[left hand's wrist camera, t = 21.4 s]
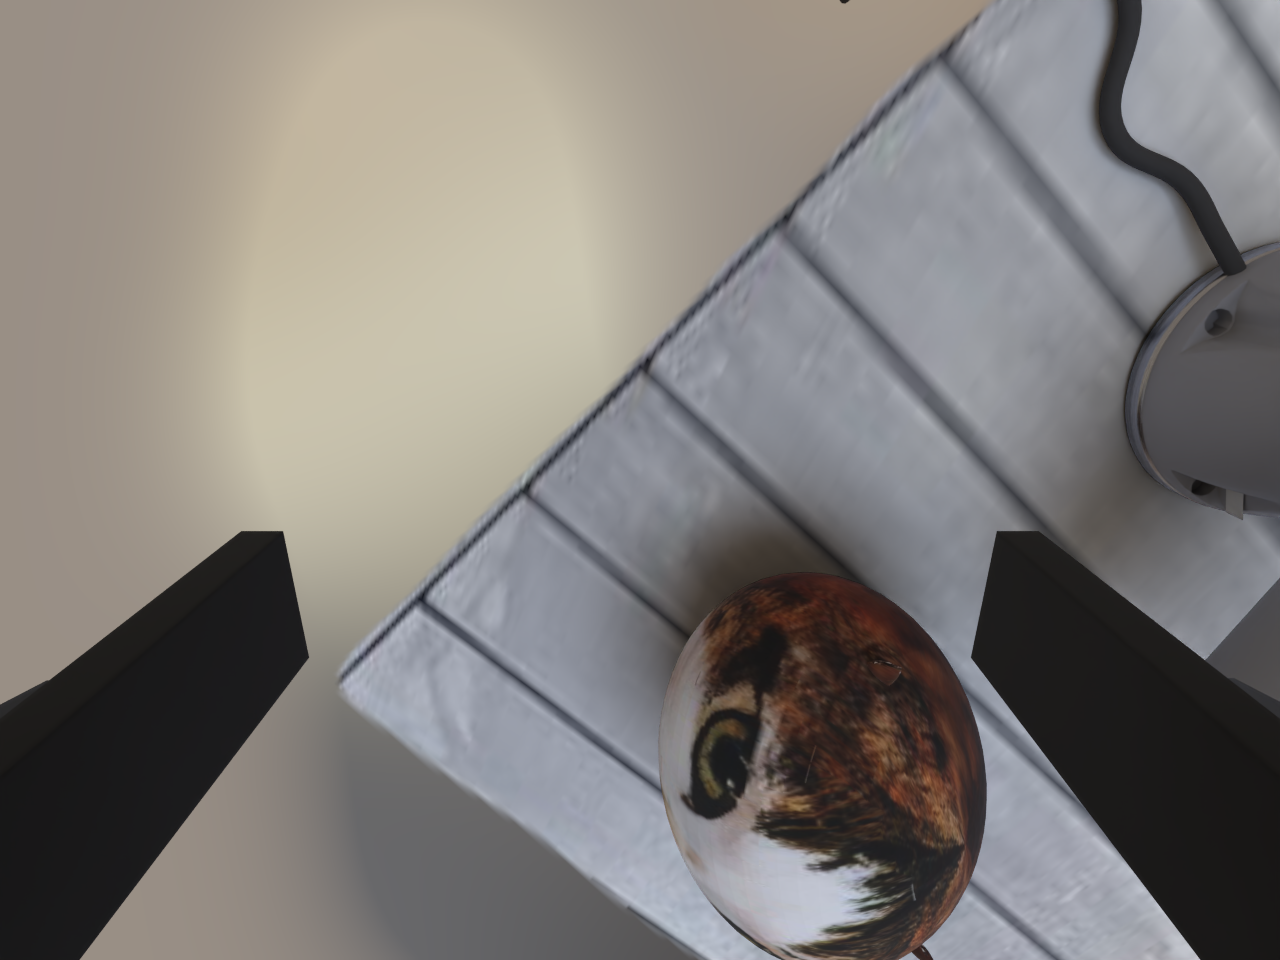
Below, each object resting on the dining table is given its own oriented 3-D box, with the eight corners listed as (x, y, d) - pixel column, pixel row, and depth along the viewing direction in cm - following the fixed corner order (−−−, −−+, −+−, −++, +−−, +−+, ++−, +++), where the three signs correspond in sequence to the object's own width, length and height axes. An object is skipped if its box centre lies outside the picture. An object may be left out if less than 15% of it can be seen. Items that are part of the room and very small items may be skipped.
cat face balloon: (528, 611, 39) (816, 771, 23) (739, 493, 48) (1042, 550, 33) (617, 896, 46) (883, 1163, 30) (785, 743, 55) (1052, 887, 40)
